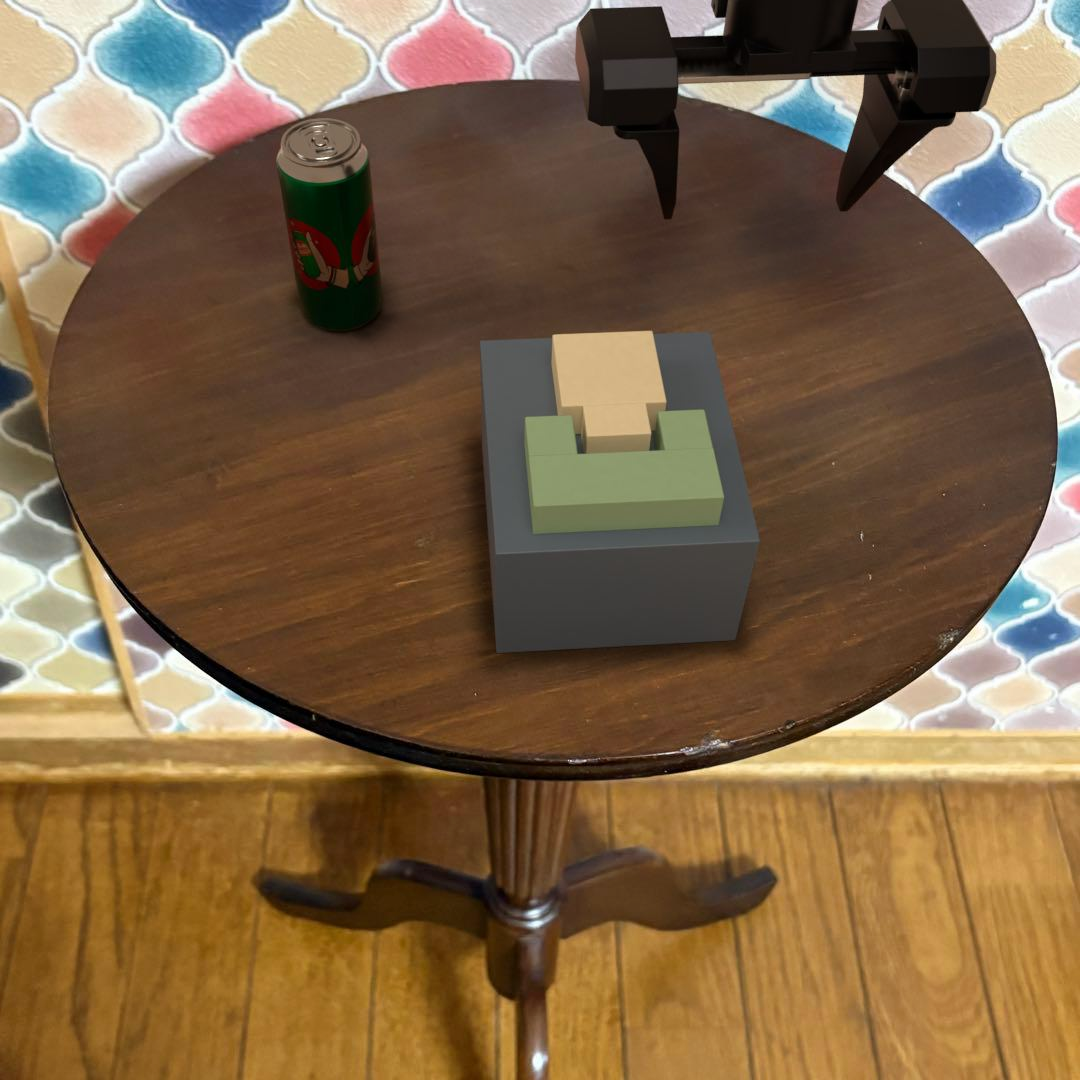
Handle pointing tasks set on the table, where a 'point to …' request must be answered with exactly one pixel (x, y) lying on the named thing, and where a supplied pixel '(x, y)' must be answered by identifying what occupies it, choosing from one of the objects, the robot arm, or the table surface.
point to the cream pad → (609, 388)
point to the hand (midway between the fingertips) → (754, 210)
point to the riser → (617, 555)
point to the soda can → (331, 223)
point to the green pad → (622, 478)
